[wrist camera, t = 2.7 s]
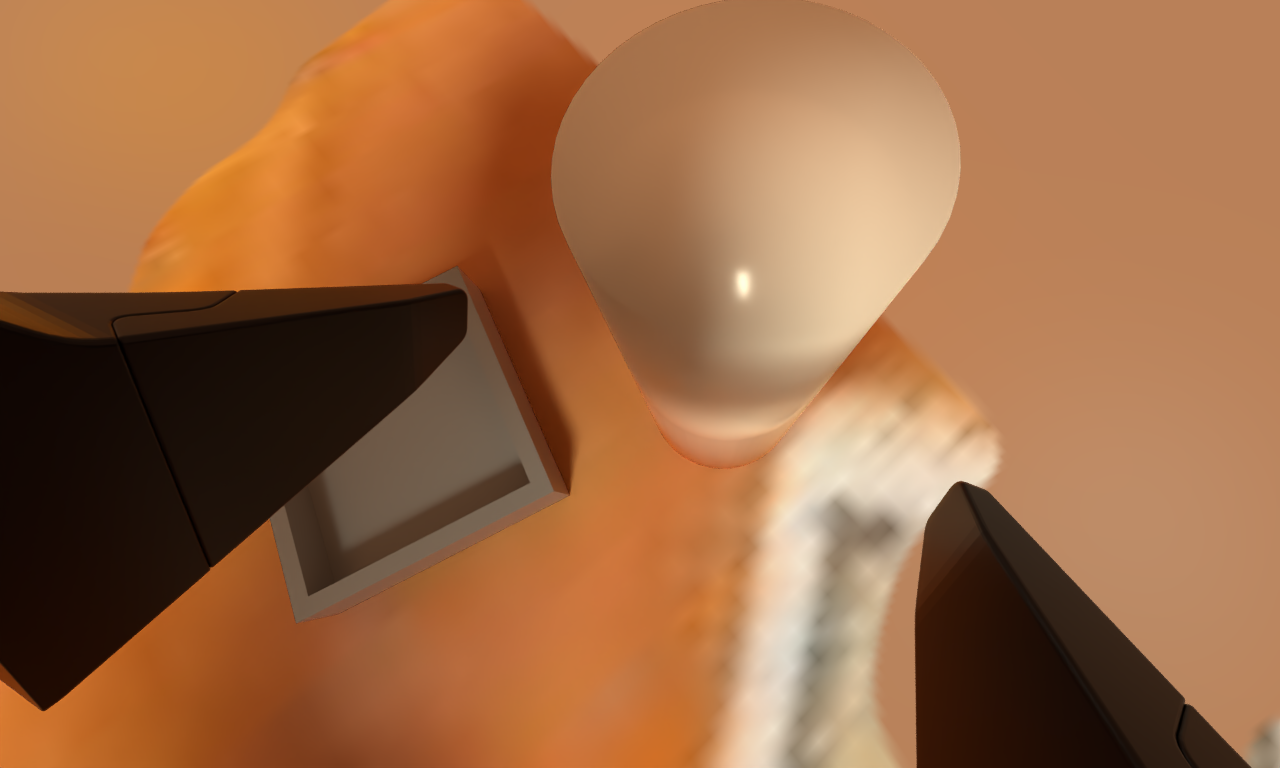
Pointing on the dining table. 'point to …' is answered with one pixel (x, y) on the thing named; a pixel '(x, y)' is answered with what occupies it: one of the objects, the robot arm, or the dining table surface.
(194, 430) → the robot arm
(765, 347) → the beige tapered rounded piece
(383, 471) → the tray
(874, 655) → the dining table surface
